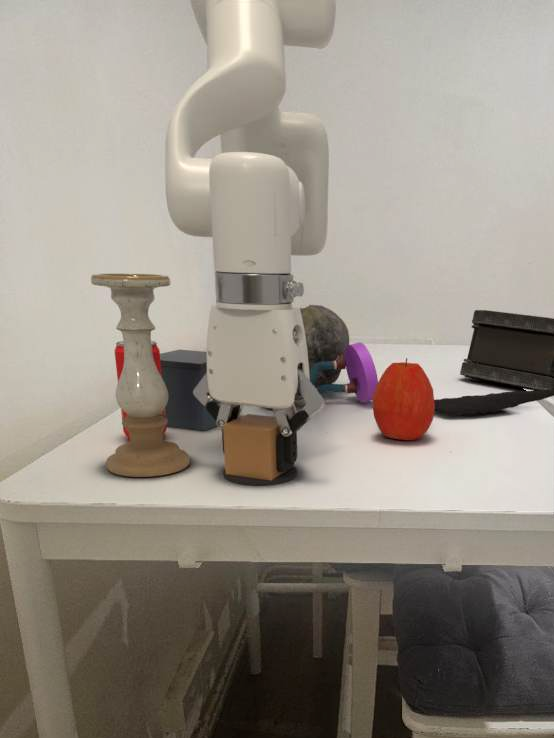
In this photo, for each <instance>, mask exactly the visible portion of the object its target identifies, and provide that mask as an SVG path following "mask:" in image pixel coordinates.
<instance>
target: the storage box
mask: <svg viewBox="0 0 554 738" xmlns="http://www.w3.org/2000/svg"><path fill="white" fill-rule="evenodd" d="M160 361H161V373H162V378H163V380H164V382H165V384H166V387H167V389H168V393H169V400H168V403H167V405H166V407H165V417H166V418H167V419H168V423H167V424H166V427H170V428H179V429H187V430H195V431H204V432H205V431H207V430H209V429H212V428H214V427H217V425H216V420H215V419H214V418H213V417H212V415H211V414H210V413H209V412H208V411H207V409H206V406H204V405H203V404H202V403H201V402H200V401H199V400H198V399H197V398H196V397H195V396H194V394H193V390H194V389H195V387H196V386H197V385H198V383H199V382H200V381H201V379H202V378H203V377H204V375H205V374H206V373H207V351H203V350H202V351H201V350H192V349H191V350H190V349H176V350H170V351H166V352H160Z"/></svg>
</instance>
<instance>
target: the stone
mask: <svg viewBox="0 0 554 738" xmlns="http://www.w3.org/2000/svg"><path fill="white" fill-rule="evenodd" d="M299 308H300V311H301V316H302V320H303V325H304V331H305V337H306V343H307V352H308V363H309V372H310V371H311V369H312V367H313V366H314V364H316V363H318V362H328V361H333V360H336V359H338V354H339V353H341V352H343V354H344V357H345V350H346V347H347V346H348V345H350V333H349V328H348V327H347V325H346V323H345V322H344V320H343V319H342V318H341V317H340V316H339V315H338V314H337V313H336V312H334V311H333V310H331V309H330V308H327V307H325V306H323V305H321V304H320V305H319V304H309V305H308V306H306V307H299ZM342 370H343V369H340V370H336V369H335V368H334V369H330V370H320V371H319V374H318V377H317V379H316V381H315V383H314V386H319V385H324V384H335V383H336V382H337V381H338V379H339V377H340V376H341V372H342Z"/></svg>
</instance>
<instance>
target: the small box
mask: <svg viewBox="0 0 554 738" xmlns="http://www.w3.org/2000/svg"><path fill="white" fill-rule="evenodd" d="M278 435H280V430H279V427H278V424H277V421H276V418H275V416H270V415H263V414H252V413H247V414H244V415H243V416H240V417H239V418H238V419H235V420H233V421H231V422H228V423H226V424H224V425H223V437H224V453H223V455H224V454H225V455H224V469H225V471H226V474H227V475H234V476H241V477H248V478H255V479H263V480H270V481H272V480H273V479H275V478H276V477H278V476H279V475H281V474H283V473H284V472H278V470H277V458H276V437H277V436H278ZM291 468H292V467H291ZM289 469H290V468H289ZM289 469H288V470H289ZM286 471H287V470H286ZM286 471H285V472H286Z"/></svg>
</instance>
